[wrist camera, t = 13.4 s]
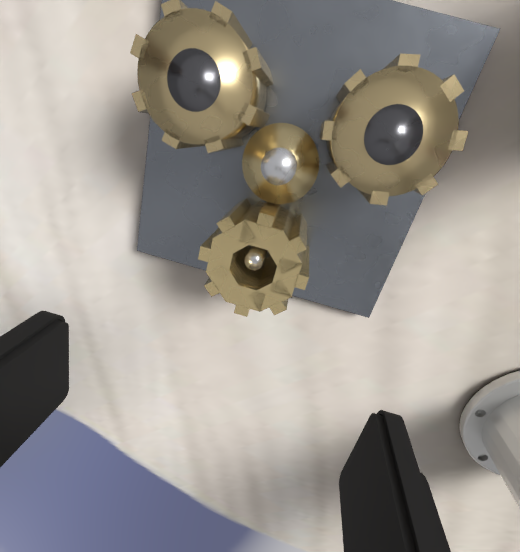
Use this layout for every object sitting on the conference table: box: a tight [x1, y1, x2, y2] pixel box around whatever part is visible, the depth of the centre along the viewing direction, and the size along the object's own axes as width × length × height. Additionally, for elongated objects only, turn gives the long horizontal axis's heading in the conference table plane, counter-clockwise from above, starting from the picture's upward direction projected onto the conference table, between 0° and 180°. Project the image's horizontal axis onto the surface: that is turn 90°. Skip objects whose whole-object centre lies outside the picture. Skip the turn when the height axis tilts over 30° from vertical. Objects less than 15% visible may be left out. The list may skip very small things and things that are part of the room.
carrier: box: [137, 0, 500, 318], centre depth 22 cm, size 20×20×6 cm
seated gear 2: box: [319, 53, 468, 205], centre depth 19 cm, size 7×7×6 cm
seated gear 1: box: [130, 0, 273, 153], centre depth 20 cm, size 7×7×6 cm
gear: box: [198, 198, 309, 317], centre depth 23 cm, size 7×7×6 cm
